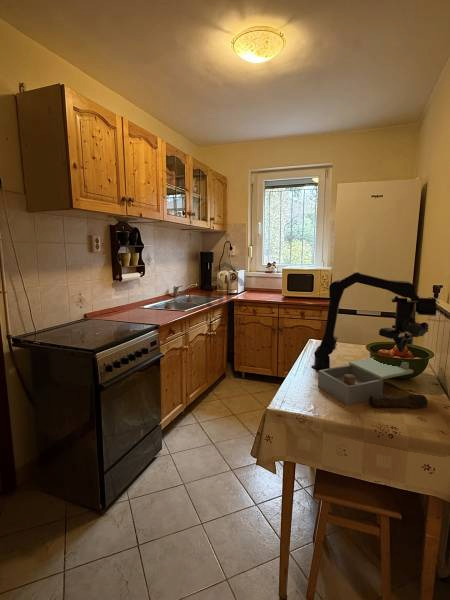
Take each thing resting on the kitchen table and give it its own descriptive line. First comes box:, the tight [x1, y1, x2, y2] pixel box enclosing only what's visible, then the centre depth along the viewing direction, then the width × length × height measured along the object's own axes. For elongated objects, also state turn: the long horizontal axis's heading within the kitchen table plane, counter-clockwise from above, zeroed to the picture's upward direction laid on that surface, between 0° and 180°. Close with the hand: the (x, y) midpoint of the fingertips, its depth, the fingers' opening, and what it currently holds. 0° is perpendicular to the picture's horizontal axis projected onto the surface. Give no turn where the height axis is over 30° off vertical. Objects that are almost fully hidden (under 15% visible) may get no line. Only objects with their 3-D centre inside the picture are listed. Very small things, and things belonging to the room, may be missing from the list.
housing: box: [317, 364, 384, 406], centre depth 119 cm, size 16×16×6 cm
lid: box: [348, 357, 414, 380], centre depth 124 cm, size 16×16×3 cm
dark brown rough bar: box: [368, 393, 429, 410], centre depth 108 cm, size 19×4×5 cm, turn 85°
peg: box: [343, 374, 355, 386], centre depth 119 cm, size 4×4×6 cm
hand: (400, 351), depth 127 cm, fingers closed
